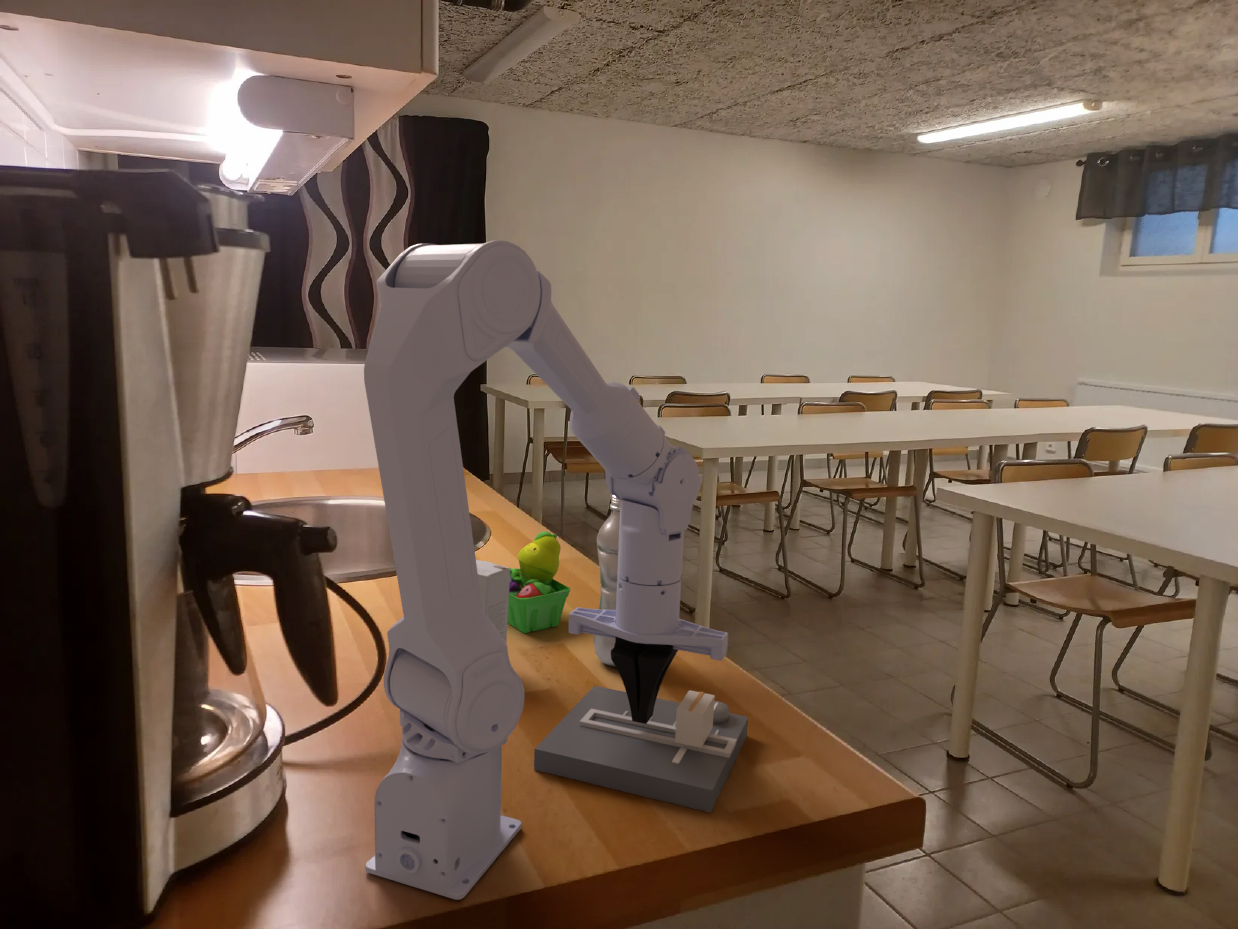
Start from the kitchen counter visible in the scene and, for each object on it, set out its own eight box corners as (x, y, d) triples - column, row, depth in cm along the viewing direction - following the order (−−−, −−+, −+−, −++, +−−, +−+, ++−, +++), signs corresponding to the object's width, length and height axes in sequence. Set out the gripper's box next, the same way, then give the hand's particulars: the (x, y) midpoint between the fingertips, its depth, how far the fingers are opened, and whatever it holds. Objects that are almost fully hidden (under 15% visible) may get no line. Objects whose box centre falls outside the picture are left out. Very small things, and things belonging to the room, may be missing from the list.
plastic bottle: (645, 677, 95) (654, 501, 92) (586, 670, 96) (592, 496, 93) (654, 655, 101) (663, 490, 98) (599, 648, 103) (605, 485, 99)
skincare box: (440, 671, 95) (440, 565, 93) (466, 657, 99) (467, 556, 96) (484, 684, 92) (485, 576, 90) (509, 670, 96) (511, 565, 94)
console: (712, 813, 70) (714, 778, 69) (534, 769, 75) (534, 737, 75) (747, 736, 83) (750, 706, 82) (593, 703, 88) (594, 675, 88)
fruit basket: (476, 611, 113) (477, 528, 111) (534, 600, 119) (535, 520, 117) (520, 639, 105) (521, 550, 103) (580, 626, 110) (583, 540, 108)
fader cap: (701, 752, 75) (703, 712, 74) (674, 746, 76) (676, 707, 75) (712, 731, 79) (714, 694, 78) (687, 726, 80) (689, 689, 79)
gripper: (739, 575, 78) (729, 714, 80) (591, 553, 82) (586, 685, 85) (720, 598, 71) (710, 750, 73) (560, 573, 76) (556, 716, 78)
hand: (642, 718), depth 79 cm, fingers closed
